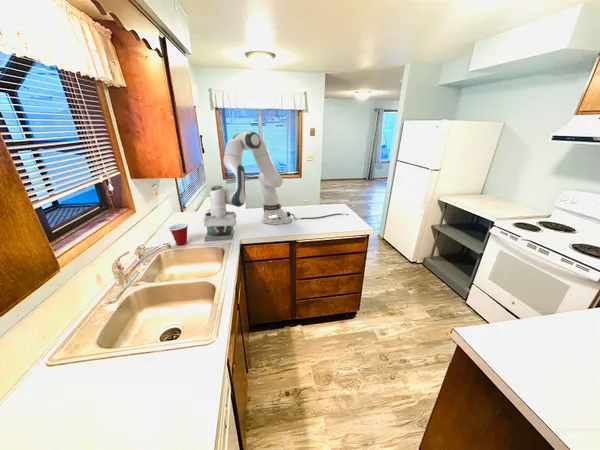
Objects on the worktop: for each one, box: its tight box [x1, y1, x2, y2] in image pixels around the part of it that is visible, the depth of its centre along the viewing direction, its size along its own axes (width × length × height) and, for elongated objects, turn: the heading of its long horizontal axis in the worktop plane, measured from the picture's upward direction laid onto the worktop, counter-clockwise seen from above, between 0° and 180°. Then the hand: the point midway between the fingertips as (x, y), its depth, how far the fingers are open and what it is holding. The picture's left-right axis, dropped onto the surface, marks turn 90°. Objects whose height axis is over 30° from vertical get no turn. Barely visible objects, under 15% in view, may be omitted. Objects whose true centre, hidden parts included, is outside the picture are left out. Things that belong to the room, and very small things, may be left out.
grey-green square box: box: [204, 226, 234, 242], centre depth 159 cm, size 16×16×12 cm
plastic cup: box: [168, 223, 189, 247], centre depth 147 cm, size 11×11×12 cm
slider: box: [219, 227, 224, 235], centre depth 156 cm, size 2×3×4 cm
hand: (221, 232), depth 156 cm, fingers closed on slider, 2 cm apart
